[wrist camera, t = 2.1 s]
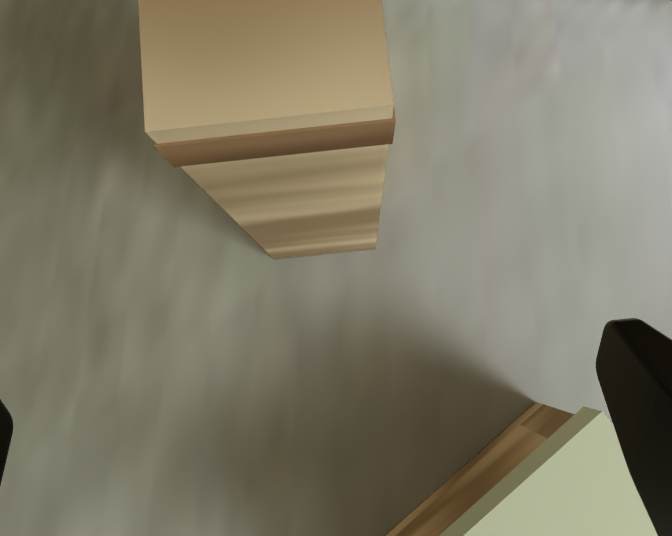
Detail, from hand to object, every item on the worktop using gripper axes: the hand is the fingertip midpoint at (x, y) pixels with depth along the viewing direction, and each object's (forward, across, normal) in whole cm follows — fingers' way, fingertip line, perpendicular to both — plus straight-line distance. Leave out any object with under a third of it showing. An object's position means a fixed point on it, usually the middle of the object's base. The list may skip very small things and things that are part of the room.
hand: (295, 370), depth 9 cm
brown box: (+12, 0, +5) cm, 13 cm away
